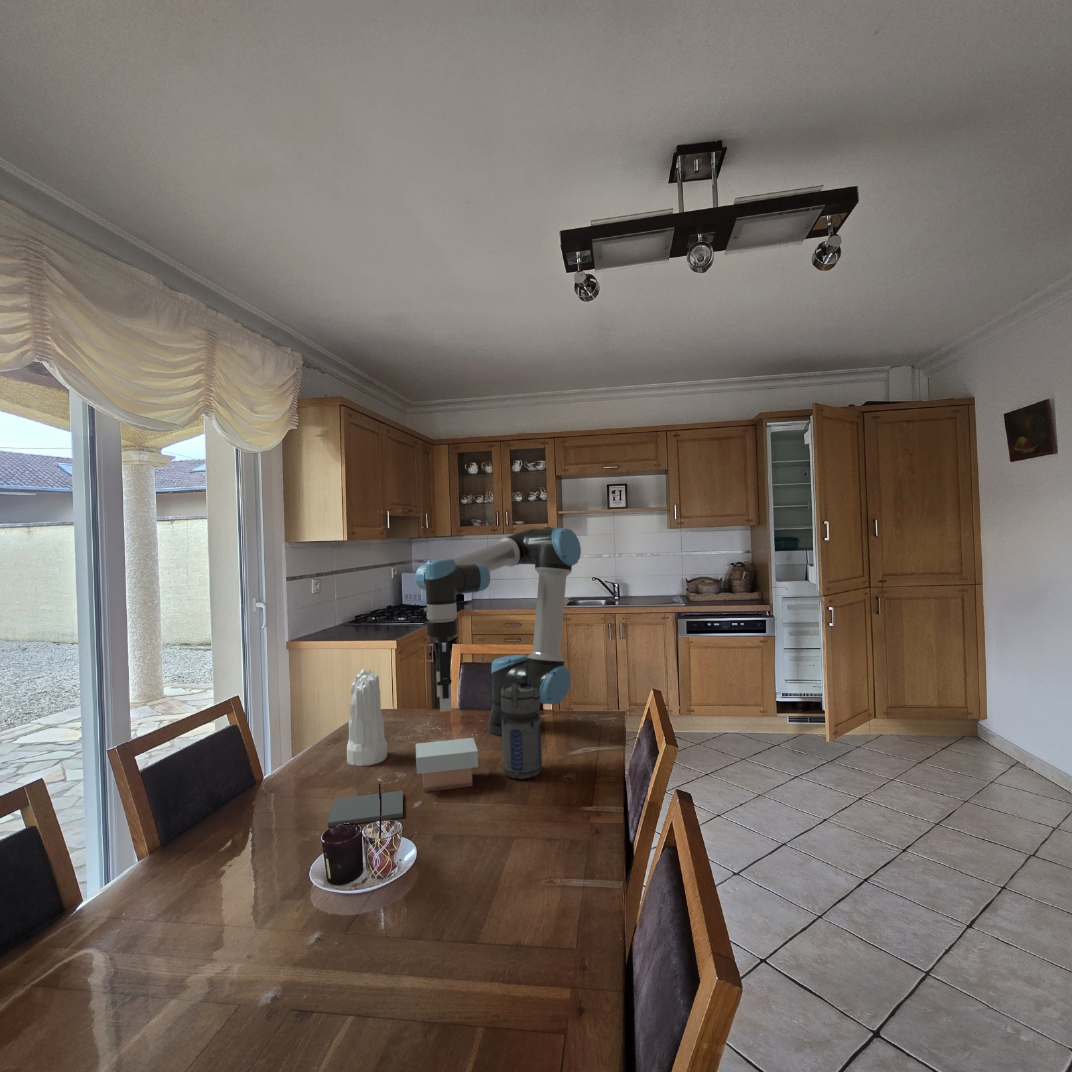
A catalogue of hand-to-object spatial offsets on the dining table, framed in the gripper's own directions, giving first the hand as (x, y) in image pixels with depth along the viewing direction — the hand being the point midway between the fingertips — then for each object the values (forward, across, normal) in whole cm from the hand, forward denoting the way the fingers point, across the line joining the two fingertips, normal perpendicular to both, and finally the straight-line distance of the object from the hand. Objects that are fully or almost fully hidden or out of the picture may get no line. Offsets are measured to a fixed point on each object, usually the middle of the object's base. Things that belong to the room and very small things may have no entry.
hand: (444, 703), depth 152 cm
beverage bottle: (+20, -1, +20) cm, 29 cm away
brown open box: (+20, 0, 0) cm, 20 cm away
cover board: (+15, 0, 0) cm, 15 cm away
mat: (+20, +10, -19) cm, 29 cm away
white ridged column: (+20, -23, -21) cm, 37 cm away
